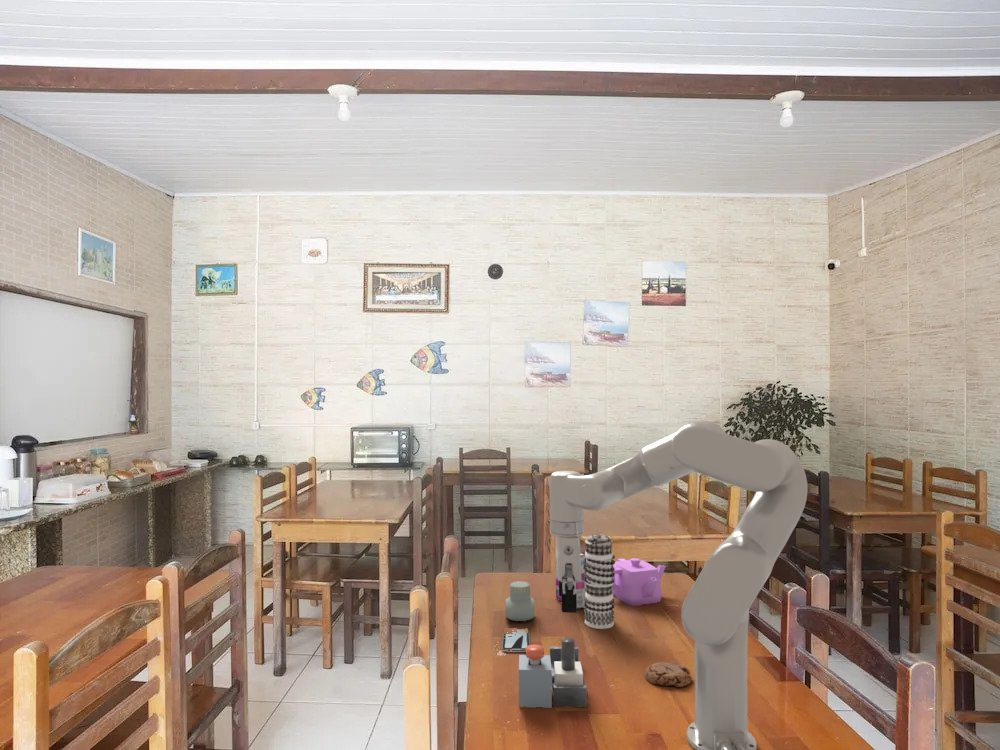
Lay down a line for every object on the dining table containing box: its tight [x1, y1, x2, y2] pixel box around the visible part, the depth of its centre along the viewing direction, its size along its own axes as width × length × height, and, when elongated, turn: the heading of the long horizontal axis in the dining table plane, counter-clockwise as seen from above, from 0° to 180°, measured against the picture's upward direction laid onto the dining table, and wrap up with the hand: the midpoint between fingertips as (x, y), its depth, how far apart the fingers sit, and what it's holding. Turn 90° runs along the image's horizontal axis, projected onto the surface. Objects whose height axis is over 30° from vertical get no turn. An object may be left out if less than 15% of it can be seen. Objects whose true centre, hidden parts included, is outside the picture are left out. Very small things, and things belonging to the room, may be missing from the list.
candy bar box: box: [555, 552, 586, 610], centre depth 188 cm, size 11×5×16 cm, turn 25°
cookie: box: [645, 662, 693, 688], centre depth 140 cm, size 10×11×3 cm
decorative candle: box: [583, 533, 616, 630], centre depth 173 cm, size 9×9×25 cm
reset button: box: [525, 644, 545, 665], centre depth 131 cm, size 4×4×6 cm
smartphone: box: [501, 628, 531, 651], centre depth 161 cm, size 7×1×15 cm
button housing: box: [518, 654, 553, 709], centre depth 131 cm, size 7×7×8 cm
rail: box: [549, 646, 588, 708], centre depth 138 cm, size 20×7×4 cm, turn 178°
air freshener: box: [505, 580, 535, 622], centre depth 176 cm, size 11×8×10 cm
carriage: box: [552, 637, 586, 694], centre depth 133 cm, size 6×7×10 cm
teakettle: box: [612, 557, 666, 606], centre depth 193 cm, size 17×17×12 cm
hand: (567, 603), depth 134 cm, fingers open, 9 cm apart
